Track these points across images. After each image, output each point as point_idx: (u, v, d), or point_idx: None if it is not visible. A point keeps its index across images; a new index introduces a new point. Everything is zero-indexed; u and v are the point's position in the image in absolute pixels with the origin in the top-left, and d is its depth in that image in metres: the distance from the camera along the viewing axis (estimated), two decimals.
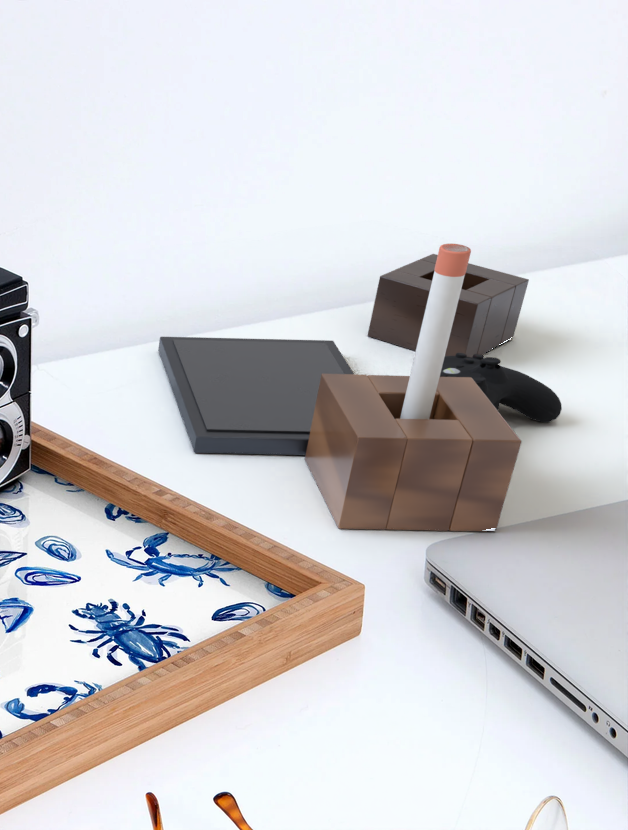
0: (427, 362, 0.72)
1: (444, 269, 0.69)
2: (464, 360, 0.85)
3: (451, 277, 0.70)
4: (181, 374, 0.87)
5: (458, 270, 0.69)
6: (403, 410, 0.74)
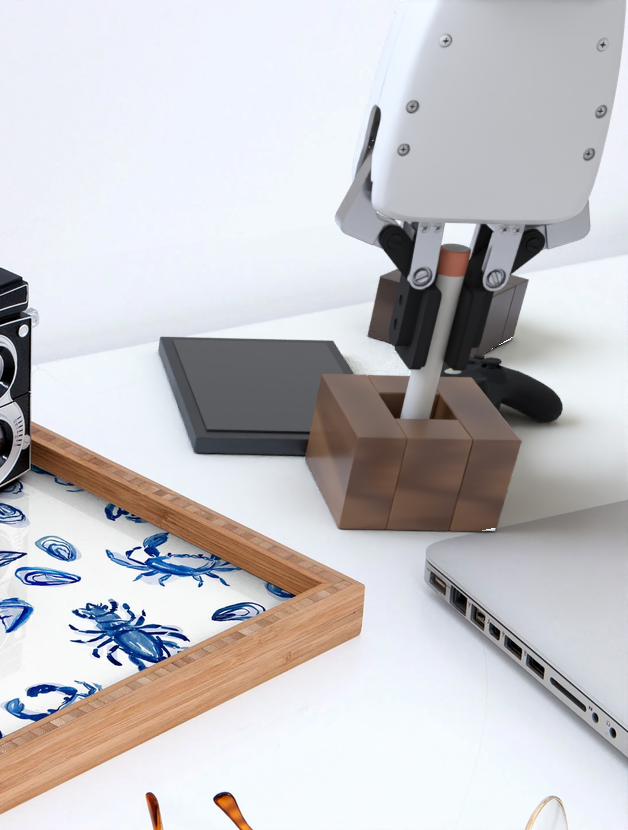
0: (427, 362, 0.72)
1: (444, 269, 0.69)
2: None
3: (451, 277, 0.70)
4: (181, 374, 0.87)
5: (458, 270, 0.69)
6: (403, 410, 0.74)
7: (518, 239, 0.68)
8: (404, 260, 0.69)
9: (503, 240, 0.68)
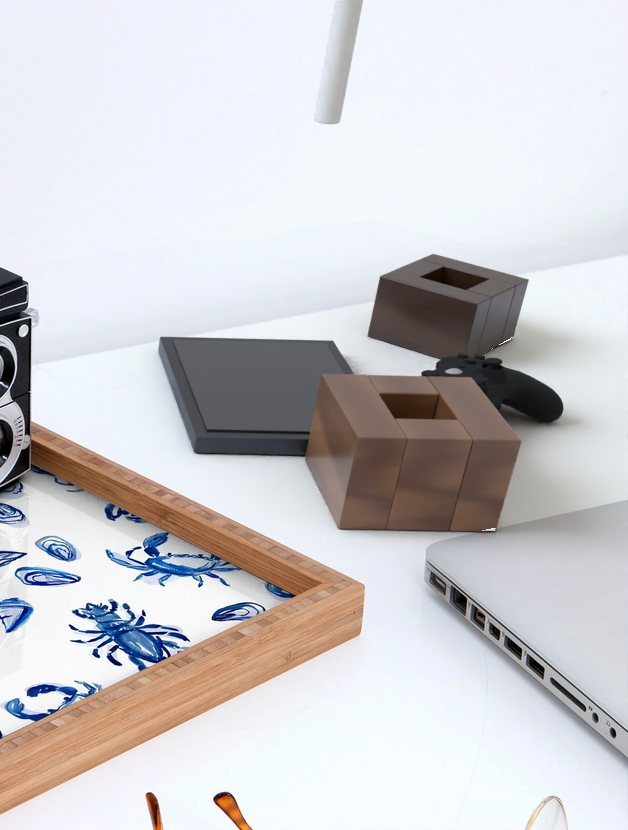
0: None
1: None
2: (466, 360, 0.85)
3: None
4: (181, 374, 0.87)
5: None
6: (331, 24, 0.75)
7: None
8: None
9: None
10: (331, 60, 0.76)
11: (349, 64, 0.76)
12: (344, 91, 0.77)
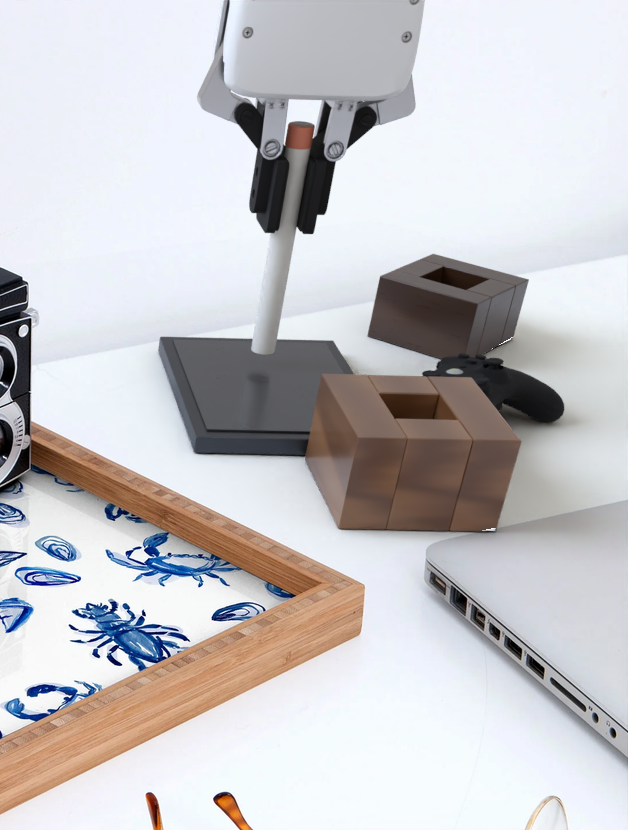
0: (282, 227, 0.83)
1: (292, 143, 0.80)
2: (467, 360, 0.85)
3: (298, 150, 0.80)
4: (181, 374, 0.87)
5: (304, 143, 0.80)
6: (264, 272, 0.85)
7: (352, 114, 0.79)
8: (256, 134, 0.80)
9: (339, 115, 0.79)
10: (265, 302, 0.86)
11: (281, 306, 0.86)
12: (277, 327, 0.87)
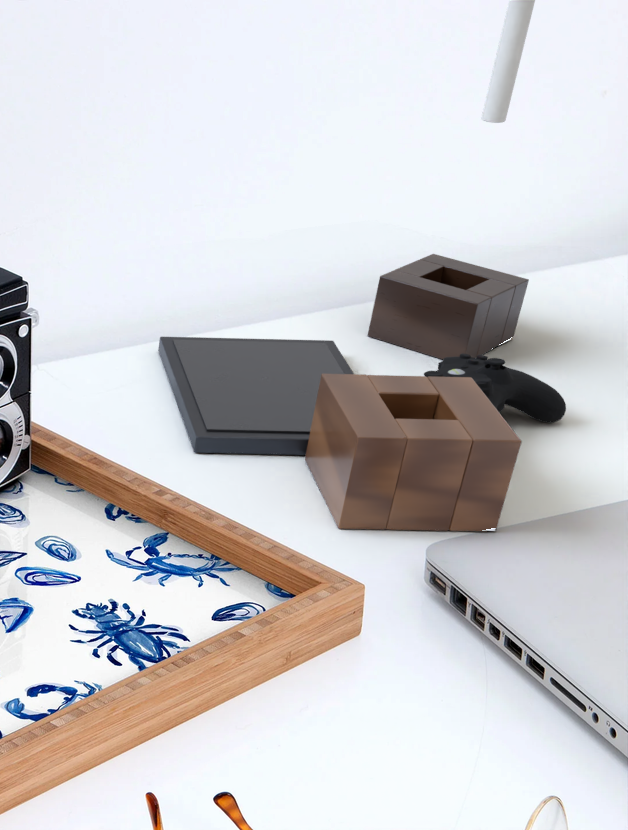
0: None
1: None
2: (468, 361, 0.85)
3: None
4: (181, 374, 0.87)
5: None
6: (502, 34, 0.85)
7: None
8: None
9: None
10: (501, 66, 0.86)
11: (517, 69, 0.86)
12: (511, 93, 0.87)
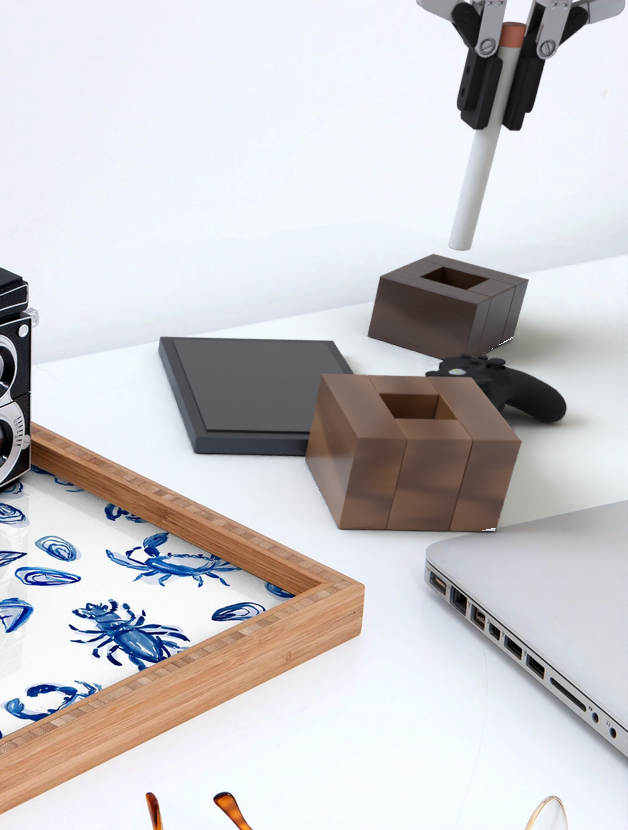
0: (488, 125, 0.87)
1: (505, 41, 0.85)
2: (469, 361, 0.85)
3: (510, 48, 0.85)
4: (181, 374, 0.87)
5: (516, 42, 0.85)
6: (467, 170, 0.90)
7: (566, 13, 0.83)
8: (472, 33, 0.84)
9: (554, 14, 0.83)
10: (466, 199, 0.90)
11: (481, 202, 0.90)
12: (476, 224, 0.91)
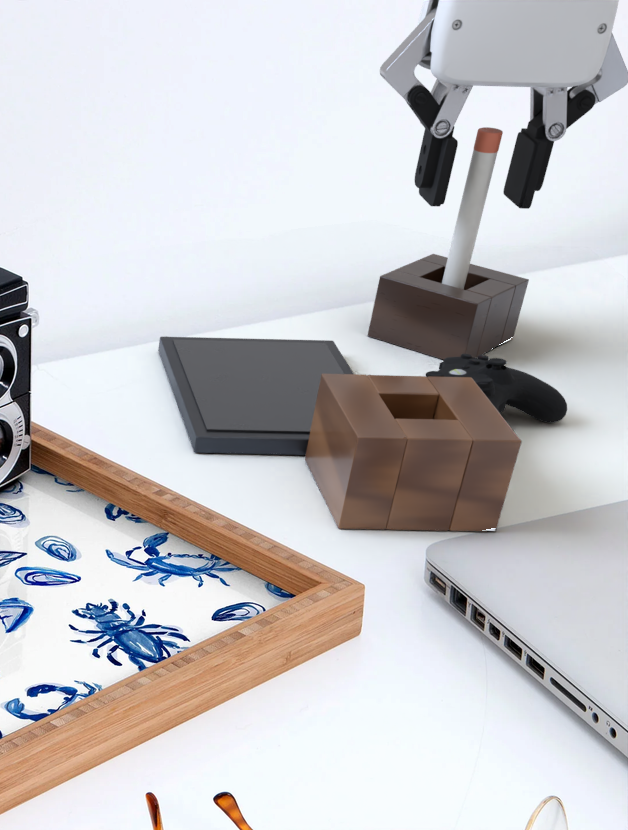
0: (467, 224, 0.91)
1: (481, 147, 0.88)
2: (470, 361, 0.85)
3: (487, 153, 0.88)
4: (181, 374, 0.87)
5: (492, 147, 0.88)
6: (447, 265, 0.93)
7: (565, 95, 0.86)
8: (432, 111, 0.87)
9: (553, 100, 0.86)
10: None
11: None
12: None
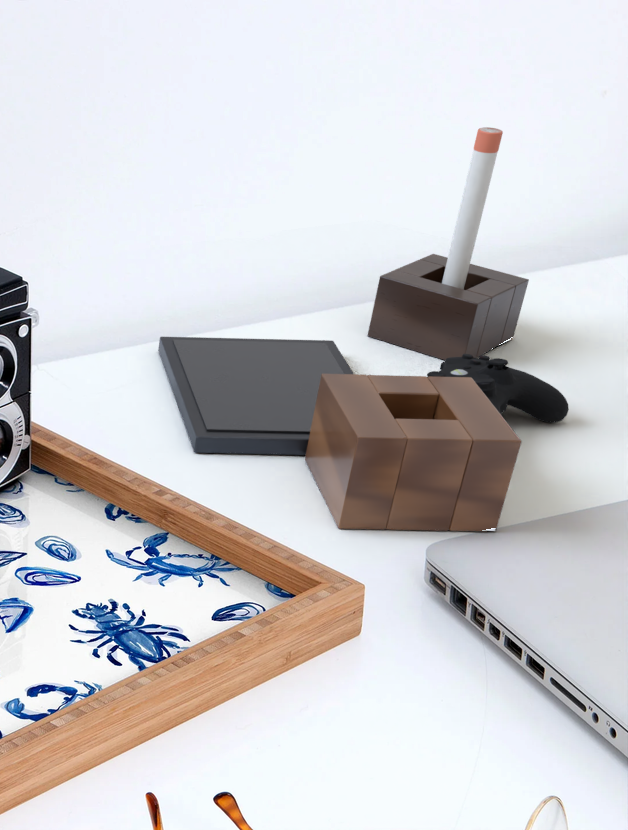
0: (467, 224, 0.91)
1: (481, 147, 0.88)
2: (471, 361, 0.85)
3: (487, 153, 0.88)
4: (181, 374, 0.87)
5: (492, 147, 0.88)
6: (447, 265, 0.93)
7: None
8: None
9: None
10: None
11: None
12: None
